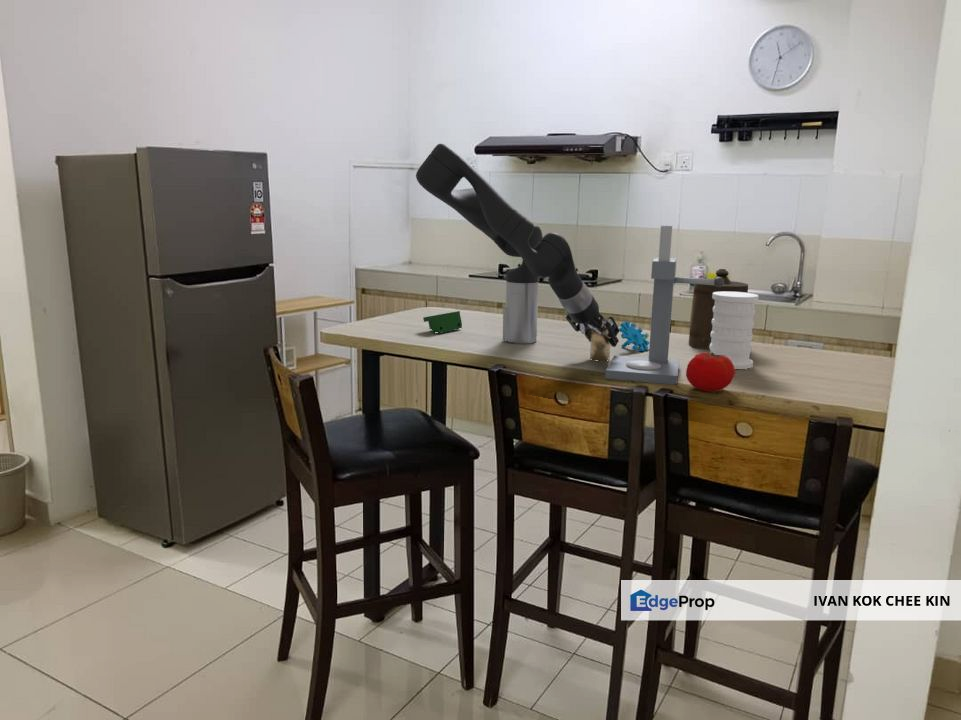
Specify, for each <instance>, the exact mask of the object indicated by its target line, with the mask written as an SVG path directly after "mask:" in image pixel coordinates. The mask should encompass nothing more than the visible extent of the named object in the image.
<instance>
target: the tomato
mask: <svg viewBox="0 0 961 720" xmlns="http://www.w3.org/2000/svg"><path fill="white" fill-rule="evenodd" d="M698 352H700V353H699V354H695V355H694V357H693V358H691V360H690V361H689V362H688V364H687V365H686V366H687V367H686V371H685V377H686V380H687V381H688V382H689V384H690V385H691V386H692V387H693V388H696V389H697V390H699V391H704V392H718V391H721V390H723V389H725V388H727V387H728V386H729V385H730V384H732V381H733V379H734V378H735V373H736V370H735V369H734V365H733V363H732V361H731V360H730V359H729V358H728V357H726V356H723V355H715V354H714V353H713V352H712V353H710V352H706V351H705V352H702V351H698Z"/></svg>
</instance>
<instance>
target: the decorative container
mask: <svg viewBox="0 0 961 720" xmlns="http://www.w3.org/2000/svg"><path fill="white" fill-rule="evenodd" d="M712 298H713V299H714V300H715V304H714V307H713V313H714V316H713V319H712V325H713V327H712V331H711V334H710V335H711V343H710V346H709V348H710V350H709V351H710V352H709V353H712V352H713V353H714V354H715V355H723V356H726V357H728V358H729V359H730V360H731V361H732V363H733V365H734V369H745V370H748V369H747V368H750V369H752V368H753V367H754V361H753V360H752V359H751V358H750V356H751V355H750V354H751V352H752V345H751V344H752V340H753V338H754V336H753V335H754V334H753V328H754V326H755V323H754V322H755V321H754V317H755V314H756V308H755V305H756V302H758V301H759V294H756V293H752V292H747V293H745V292H729V291H723V292H713V295H712ZM751 367H752V368H751Z"/></svg>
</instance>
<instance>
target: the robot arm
mask: <svg viewBox="0 0 961 720" xmlns="http://www.w3.org/2000/svg"><path fill="white" fill-rule="evenodd" d="M415 178H416V181H417V182H418V184H419V185H420V186H421V187H422V188H423V189H424V190H426V191H427V193H429V194H431V195H432V196H434V197H435V198H437V199H438V200H439V201H442V202H443V203H444V204H446V205H448V206H449V207H450V208H452V209H454V210H455V211H456V212H457V213H458V214H459V215H460V216H461V217H463V218H464V219H465V220H466V221H468V223H470V224H471V225H472V226H474V227H475V228H476V229H477V230H479V231H480V232H482V233H483V234H484V235H485V236H487V237H488V238H489V239H491V240H492V242H494V244H495V245H496V246H497V247H498V248H499V249H500V250H501V251H502V252H503V253H504V254H505V255H507V256H509V257H512V258H513V257H514V258H521V259H522V262H521V264H520V265H519V266H518V267H515V268H512V269H509V270H507V272H506V276H505V280H506V281H505V307H504V308H503V313H502V341H503V340H506V341H509V342H508V343H511V342H514V343H513V344H532V343H536V342H537V336H538V333H537V332H538V306H539V305H538V303H539V278H542V279H543V278H548V279H547V281H548V284H549V287H550V288H551V289H552V291H553V292H554V294H555V296H556V297H557V298H558V300H559V302H560V305H561V306H562V307H563V309H564V310H565V312H566V316H565V320H567V322H568V323H569V325H570V326H571V327H572V328H573V330H574V331H575V332H577V333H578V332H580V333H581V334H582V335H584V336H585V338H586V339H587V340H588V343H591V329H594V330H595V331H596V332H598V333H599V334H600V335H601V334H603V335H604V336H605V337H606V338H607V339H608V341H609V343H610V347H613V348H616V346H617V345H618V343H619V339H618V337H617V336H618V334H619V333H620V330H619V329H620V327H619V326H618V324H617V322H616V321H615V318H614V317H613V316H611V315H610V316H608V318H605V317H604V315H602V314H601V313H600V306H599V303H598V302H597V300H596V299H595V297H594V296H593V294H592V292H591V290H590V289H589V287H588V286H587V285H586V284H585V283H584V282H583V279H582V278H581V276H580V275H579V274H578V271H576V266H575V261H574V258H573V254H572V251H571V246H570V245H569V243H568V241H567V240H566V238H564V236H562V235H561V234H560V233H557V232H554V231H553V232H548V233H546V234H545V235H544V236H543V232H542V229H541V227H540V226H539V225H537V224H534V223H533V222H532V220H530V219H529V218H527V217H526V216H525V215H523V213H521V211H519V210H518V209H517V208H515V206H513V205H511V204H510V203H509V202H508V201H507V200H506V199H505V198H504V197H502V195H501V194H500V193H499V192H498V191H497V190H496V189H495V188H494V187H493V186H492V185H491V184H490V183H489V182H488V181H487V180H486V179H485V178H484V176H482V175H481V173H479V172H478V171H477V170H476V169H475V168H474V167H473V165H471V164H470V163H469V162H468V161H467V160H466V159H465V158H464V157H463V156H462V155H460V154H459V153H458V152H457V151H456V150H454V149H453V148H452V147H451V146H449V145H446V144H444V143H438V144H437V145H435V146H434V147H433V149H432V151H431V152H430V154H428V156H427V157H426V159H424V161H423V162H422V164H421V165H420V166H419V168H418V169H417V171H416V173H415ZM462 179H466V180H467V182H468V183H469V184H470V186H472V187H471V188H465V189H456V186H457V185H458V184H459V183H460V182H461V180H462ZM602 323H603V327H602V329H601V330H600V327H601V326H602ZM606 329H607V330H608V333H606ZM506 341H505V342H506Z"/></svg>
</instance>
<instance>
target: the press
mask: <svg viewBox="0 0 961 720" xmlns="http://www.w3.org/2000/svg"><path fill="white" fill-rule="evenodd" d="M672 233H673V225H670V224H669V225H668V224H661V225H660V234H659V249H658V257H655V258H653V260H652V263H651V273H650V275H651V277H650V279H652V280H653V290H652V306H651V318H650V319H651V320H650V335H649V345H648V349H649V350H648V357H644V356H643V357H641V356H628V355H618V354H617V355H613V357H612V358H611V360H610V362H609V364H608V365H607V367H606V369H605V377H604V378H605V379H608V380H620V381H630V382H631V381H632V382H641V383H644V382H645V383H655V384H665V385H677V384H676V383H678V377H677V376H678V375H679V371H678V370H679V369H680V359H669V351H670V348H669V347H670V335H671V322H672V309H673V296H674V295H673V294H674V285H675V284H686V285H687V284H688V285H689V284H690V285H694V284H706V285H715V286H716V287H721V286H723V284H724V280H723V278H721V277H717V278H715V277H714V278H715V279H714V278H705V277H704V278H703V277H702V278H700V277H682V276H681V277H680V276H679V277H678V276H676V271H677V269H676V267H677V258H675V257H671V247H672V237H673V234H672Z"/></svg>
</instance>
